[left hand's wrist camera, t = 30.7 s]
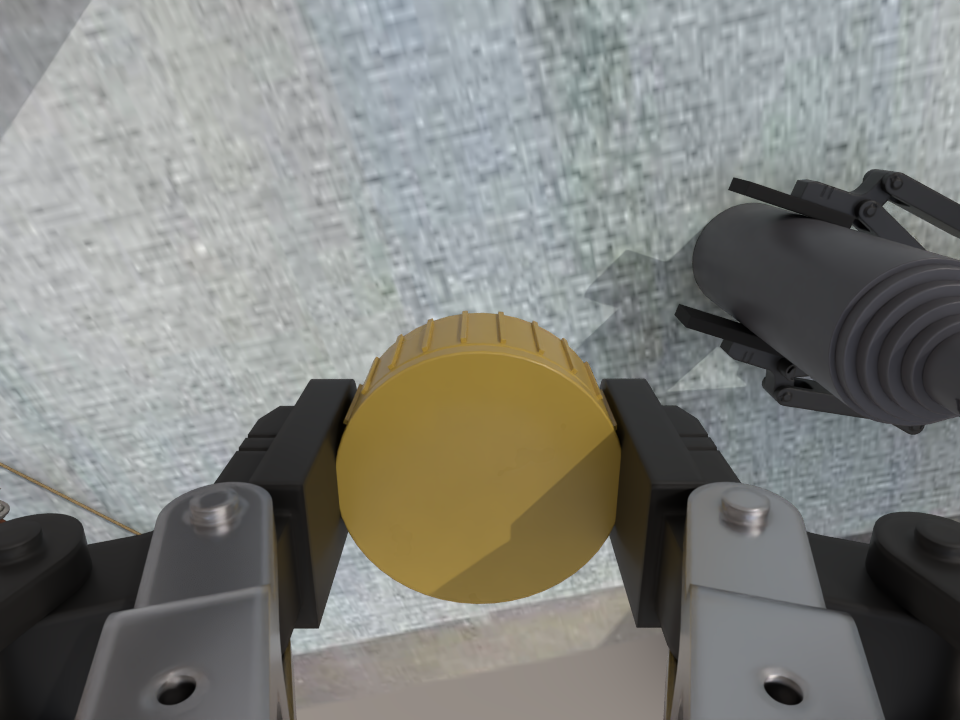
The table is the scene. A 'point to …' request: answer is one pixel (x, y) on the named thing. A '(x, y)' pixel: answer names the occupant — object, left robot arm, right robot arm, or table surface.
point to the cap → (479, 460)
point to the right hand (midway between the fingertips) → (710, 253)
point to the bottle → (841, 308)
